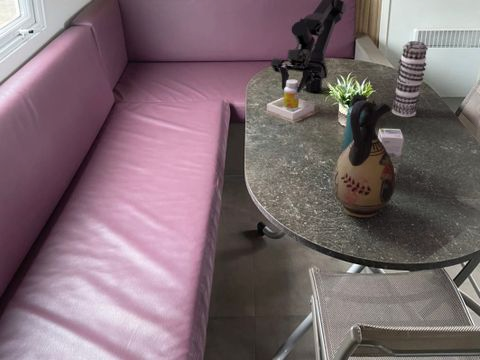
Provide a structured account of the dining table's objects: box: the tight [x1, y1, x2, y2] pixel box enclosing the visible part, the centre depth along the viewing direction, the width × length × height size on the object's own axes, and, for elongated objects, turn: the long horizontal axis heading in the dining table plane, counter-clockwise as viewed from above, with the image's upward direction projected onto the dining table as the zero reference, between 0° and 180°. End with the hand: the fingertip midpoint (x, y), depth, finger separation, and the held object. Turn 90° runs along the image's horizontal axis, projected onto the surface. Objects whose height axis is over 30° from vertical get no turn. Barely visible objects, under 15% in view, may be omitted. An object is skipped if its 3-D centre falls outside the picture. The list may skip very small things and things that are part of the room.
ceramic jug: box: [331, 99, 396, 218], centre depth 122 cm, size 17×15×30 cm
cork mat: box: [263, 109, 319, 124], centre depth 182 cm, size 14×14×1 cm
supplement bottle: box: [283, 78, 300, 110], centre depth 178 cm, size 5×5×10 cm
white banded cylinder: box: [391, 40, 429, 118], centre depth 176 cm, size 9×9×25 cm
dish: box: [266, 96, 315, 123], centre depth 181 cm, size 12×12×3 cm
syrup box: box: [377, 128, 404, 182], centre depth 139 cm, size 6×6×14 cm
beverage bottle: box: [342, 93, 368, 153], centre depth 148 cm, size 6×7×20 cm
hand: (290, 90), depth 176 cm, fingers closed on supplement bottle, 5 cm apart
